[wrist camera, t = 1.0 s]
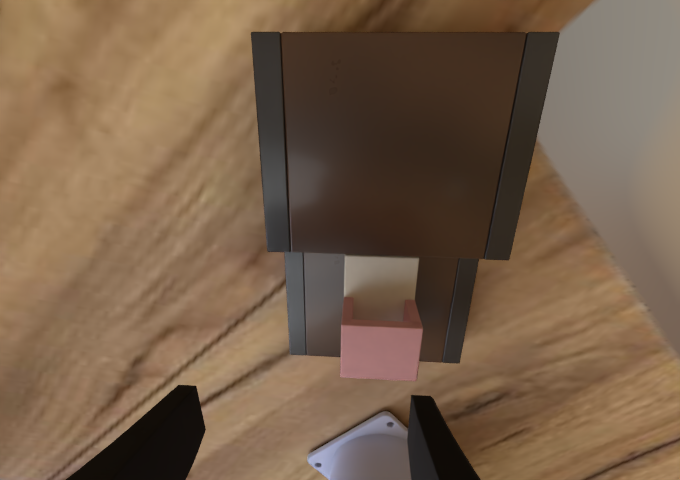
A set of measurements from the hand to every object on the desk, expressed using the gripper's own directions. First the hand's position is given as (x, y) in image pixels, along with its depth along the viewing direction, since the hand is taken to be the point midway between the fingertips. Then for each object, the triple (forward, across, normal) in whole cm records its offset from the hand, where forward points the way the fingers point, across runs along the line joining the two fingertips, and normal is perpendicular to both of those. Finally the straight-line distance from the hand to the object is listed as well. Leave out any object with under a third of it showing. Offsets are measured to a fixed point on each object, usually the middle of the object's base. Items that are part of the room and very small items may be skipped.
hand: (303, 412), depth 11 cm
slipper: (+8, -3, 0) cm, 8 cm away
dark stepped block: (+10, -3, -4) cm, 11 cm away
